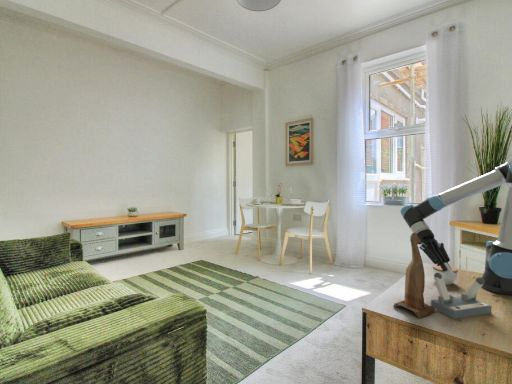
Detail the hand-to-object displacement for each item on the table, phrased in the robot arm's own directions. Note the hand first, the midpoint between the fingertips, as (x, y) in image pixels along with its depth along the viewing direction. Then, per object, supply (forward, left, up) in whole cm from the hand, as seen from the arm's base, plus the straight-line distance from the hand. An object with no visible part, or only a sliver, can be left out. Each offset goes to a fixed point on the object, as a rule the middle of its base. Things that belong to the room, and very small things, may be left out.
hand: (452, 277), depth 122 cm
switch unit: (+3, +10, -10) cm, 15 cm away
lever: (+9, +11, -6) cm, 15 cm away
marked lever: (-3, +7, -6) cm, 9 cm away
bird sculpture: (+22, +12, -10) cm, 27 cm away
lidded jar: (-8, -21, -10) cm, 24 cm away
